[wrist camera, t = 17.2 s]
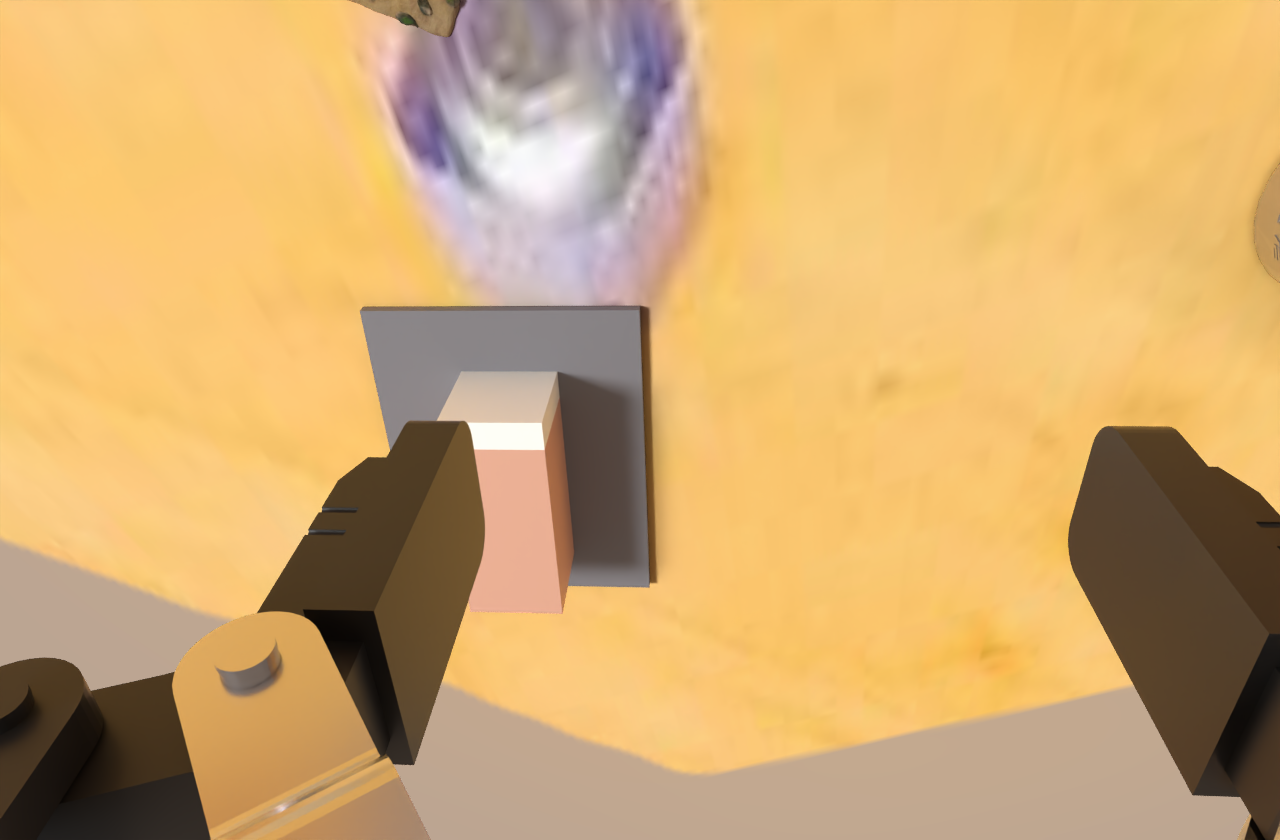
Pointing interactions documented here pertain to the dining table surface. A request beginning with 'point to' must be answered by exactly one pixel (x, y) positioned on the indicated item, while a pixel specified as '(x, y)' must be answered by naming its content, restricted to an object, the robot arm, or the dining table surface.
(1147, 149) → the dining table surface
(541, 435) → the block
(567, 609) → the dining table surface
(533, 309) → the mat
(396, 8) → the mottled brown square tile
